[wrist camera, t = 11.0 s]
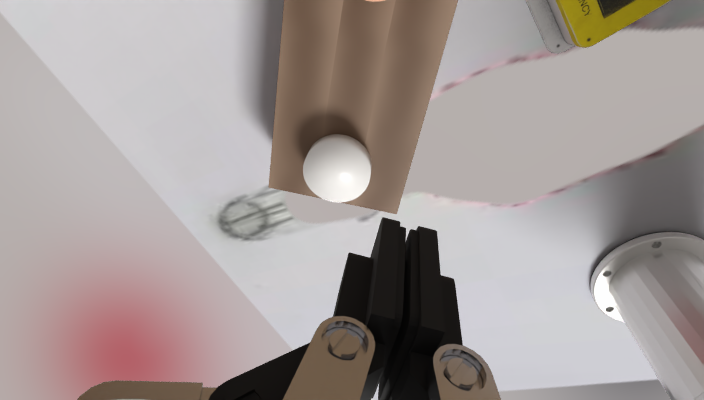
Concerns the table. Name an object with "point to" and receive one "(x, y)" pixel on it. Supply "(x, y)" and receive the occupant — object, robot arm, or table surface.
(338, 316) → the robot arm
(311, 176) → the white glossy ovoid
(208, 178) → the table surface
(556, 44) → the emergency button
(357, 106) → the press console
